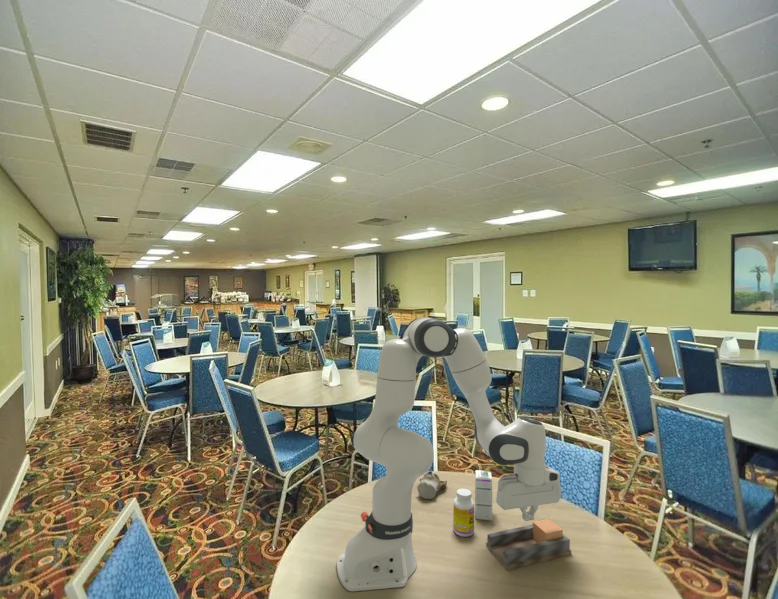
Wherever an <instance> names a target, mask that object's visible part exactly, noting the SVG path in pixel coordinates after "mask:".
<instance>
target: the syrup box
mask: <svg viewBox="0 0 778 599" xmlns="http://www.w3.org/2000/svg"><path fill="white" fill-rule="evenodd" d="M474 519H477V520H484V521H493V478H492V472H491V471H490V470H483V469H481V470H480V469H477V470H475V471H474Z"/></svg>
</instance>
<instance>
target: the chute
mask: <svg viewBox="0 0 778 599" xmlns="http://www.w3.org/2000/svg"><path fill="white" fill-rule="evenodd" d="M486 539H487V542H486V543H485V547H487V548H488V550H489V551H490V552H491V553H492V554H493V556H494V557H495V558H496V559H497V560H498V561H499V562H500V564H501V565H502V566H503V567H504V568H505V569H506V570H507V571H510V570H515V569H519V568H523V567H527V566H531V565H535V564H539V563H542V562H543V563H544V562H547V561H550V560H551V561H552V560H555V559H558V558H559V559H560V558H562V557H567V556H570V555H572V550H571V547H570V546H571V545H570V544H571V543H570V541H571V539H570V538H568V536H566V535H565V534H564V533H563V537H562V538H557V539H553V540H549V541H545V542H540V543H538V542H537V541H536V540H534V539H533V523H532V524H529V525H524V526H519V527H515V528H511V529H506V530H500V531H497V532H492V533H487V538H486Z"/></svg>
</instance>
